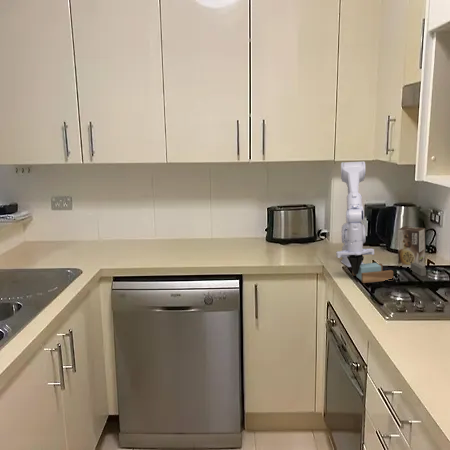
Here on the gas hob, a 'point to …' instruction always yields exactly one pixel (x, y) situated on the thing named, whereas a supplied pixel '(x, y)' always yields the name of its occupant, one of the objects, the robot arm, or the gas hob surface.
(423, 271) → the block
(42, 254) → the gas hob surface
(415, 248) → the cookie box
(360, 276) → the block
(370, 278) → the chute
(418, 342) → the gas hob surface
